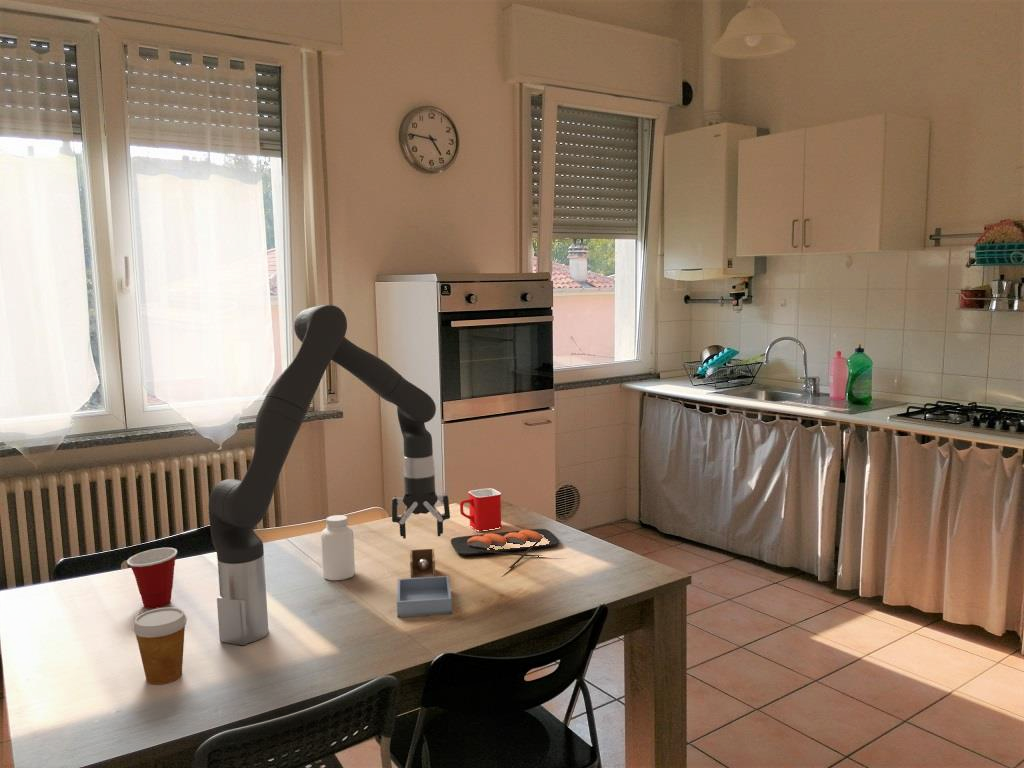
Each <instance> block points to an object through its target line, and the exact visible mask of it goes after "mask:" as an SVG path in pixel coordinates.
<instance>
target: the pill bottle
mask: <svg viewBox="0 0 1024 768" xmlns="http://www.w3.org/2000/svg"><path fill="white" fill-rule="evenodd" d="M325 522H326V523H325V524H326V525H325V526H326V527H325V528H323V530H322V531H321V535H320V540H321V543H320V544H321V560H322V561H321V562H322V564H321V565H322V576H323V578H324V579H326V580H329V581H344V580H347V579H350V578H353V577H354V576H355V573H356V565H355V564H356V562H355V541H354V540H355V539H354V531H353V528H351V527H350V526H348V524H349V517H348V516H346V515H342V514H340V515H339V514H337V515H331V516H327V517H326V519H325Z"/></svg>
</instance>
